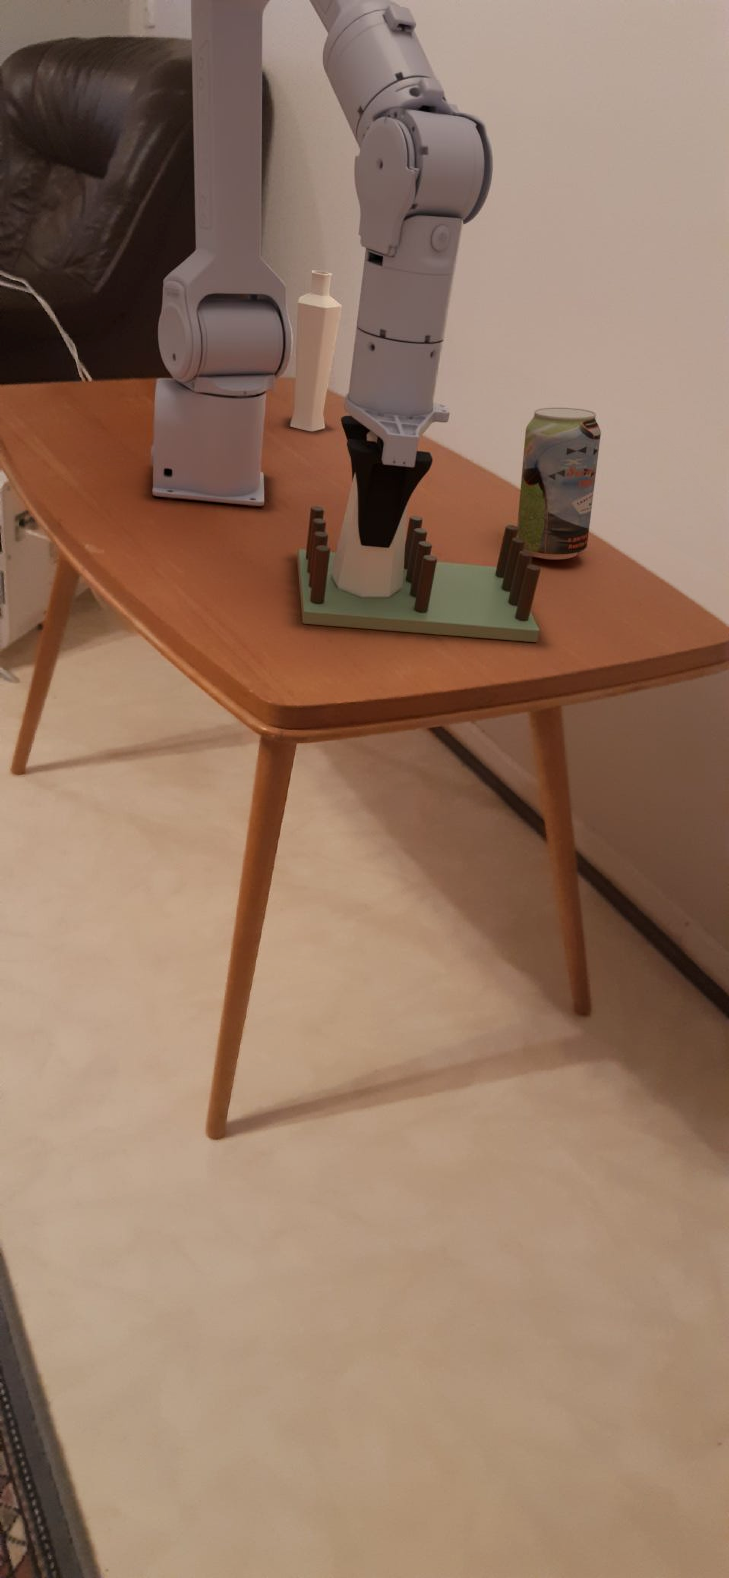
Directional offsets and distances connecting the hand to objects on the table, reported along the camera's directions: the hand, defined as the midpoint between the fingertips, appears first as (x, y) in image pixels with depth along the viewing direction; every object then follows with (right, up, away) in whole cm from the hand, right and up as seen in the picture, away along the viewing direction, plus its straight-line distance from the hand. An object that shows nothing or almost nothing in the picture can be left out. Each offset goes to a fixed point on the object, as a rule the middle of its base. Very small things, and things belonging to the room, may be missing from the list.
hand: (371, 533), depth 74 cm
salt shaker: (0, -3, +2) cm, 4 cm away
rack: (+3, -4, +3) cm, 6 cm away
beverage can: (+15, +2, +15) cm, 21 cm away
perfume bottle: (-7, +20, +36) cm, 42 cm away
